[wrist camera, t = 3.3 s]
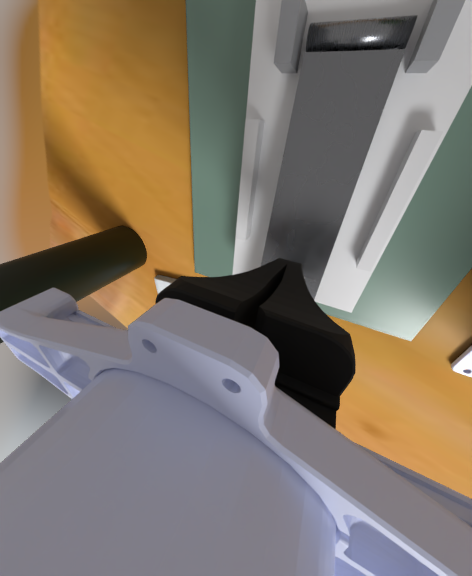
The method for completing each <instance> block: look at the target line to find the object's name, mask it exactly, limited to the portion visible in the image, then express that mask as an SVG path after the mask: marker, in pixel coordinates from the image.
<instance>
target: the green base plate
mask: <svg viewBox="0 0 472 576" xmlns="http://www.w3.org/2000/svg"><path fill="white" fill-rule="evenodd" d="M410 15H418V16H417V19H416V22H415V25H414V28H413V30H412V33H411V36H410V38H409V41H408V43H407V45H406V48H405V52H404V55H403V58H402V60H401V63H400V66H399V69H398V71H397V74H396V77H395V80H394V82H393V85H392V88H391V91H390V93H389V96H388V99H387V102H386V104H385V107H384V110H383V113H382V115H381V118H380V121H379V123H378V126H377V129H376V132H375V134H374V137H373V140H372V143H371V145H370V148H369V151H368V154H367V156H366V159H365V162H364V165H363V167H362V170H361V173H360V176H359V178H358V181H357V184H356V187H355V189H354V192H353V195H352V198H351V200H350V203H349V206H348V209H347V211H346V214H345V217H344V219H343V222H342V225H341V228H340V230H339V233H338V236H337V239H336V241H335V244H334V247H333V250H332V252H331V255H330V258H329V261H328V263H327V266H326V269H325V272H324V274H323V277H322V280H321V283H320V285H319V288H318V291H317V294H316V296H315V299H314V301H315V302H316V303H317V305H318V306H319V307H320V308H321V310H322V311H323V312H324V313H325V314H327V315H330V316H333V317H337V318H340V319H343V320H346V321H349V322H352V323H355V324H359V325H362V326H365V327H368V328H371V329H374V330H377V331H380V332H384V333H387V334H390V335H393V336H396V337H399V338H402V339H405V340H409V341H412V339H413V338H414V337H415V336H416V335H417V333H418V332H419V331H420V330H421V329H422V327H423V326H424V325H425V324H426V323H427V321H428V320H429V319H430V318H431V317H432V315H433V314H434V313H435V312H436V311H437V309H438V308H439V307H440V306H441V305H442V303H443V302H444V301H445V300H446V299H447V297H448V296H449V295H450V294H451V293H452V291H453V290H454V289H455V288H456V286H457V285H458V284H459V283H460V282H461V280H462V279H463V278H464V277H465V276H466V274H467V273H468V272H469V271H470V270H471V268H472V0H186V22H187V52H188V82H189V112H190V141H191V171H192V201H193V230H194V260H195V272H196V273H199V274H202V275H205V276H208V277H221V276H228V275H235V274H239V273H243V272H247V271H250V270H253V269H255V268H258V267H261V262H262V257H263V252H264V247H265V242H266V237H267V232H268V227H269V223H270V218H271V213H272V208H273V203H274V198H275V193H276V188H277V183H278V178H279V173H280V169H281V164H282V159H283V154H284V149H285V144H286V139H287V134H288V129H289V124H290V119H291V115H292V110H293V105H294V100H295V95H296V90H297V85H298V80H299V75H300V70H301V65H302V61H303V56H304V52H306V41H307V35H308V30H309V26H310V24H311V23H314V22H328V21H342V20H355V19H369V18H383V17H397V16H410ZM304 278H305V277H304Z"/></svg>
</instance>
